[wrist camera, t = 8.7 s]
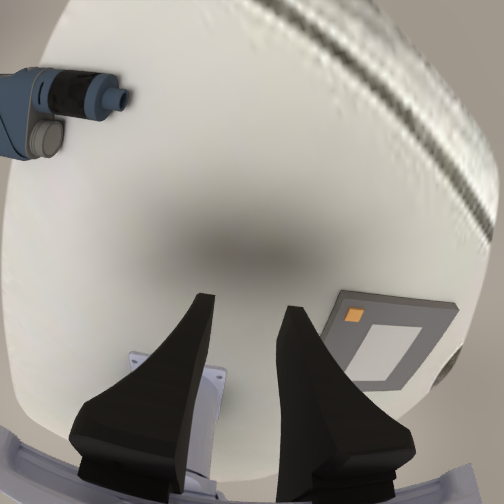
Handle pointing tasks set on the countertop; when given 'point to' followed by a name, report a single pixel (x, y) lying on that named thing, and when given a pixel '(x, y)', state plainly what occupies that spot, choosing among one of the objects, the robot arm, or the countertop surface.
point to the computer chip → (384, 337)
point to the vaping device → (51, 107)
